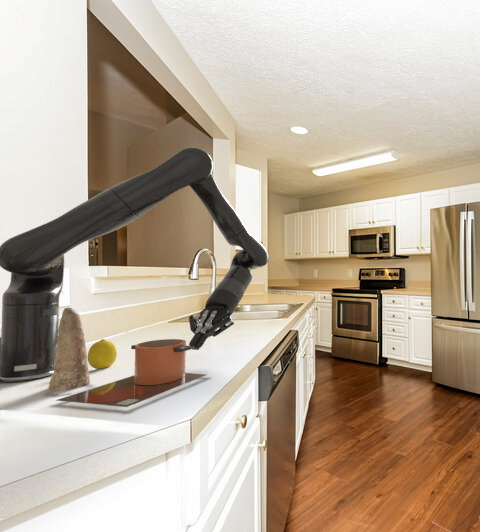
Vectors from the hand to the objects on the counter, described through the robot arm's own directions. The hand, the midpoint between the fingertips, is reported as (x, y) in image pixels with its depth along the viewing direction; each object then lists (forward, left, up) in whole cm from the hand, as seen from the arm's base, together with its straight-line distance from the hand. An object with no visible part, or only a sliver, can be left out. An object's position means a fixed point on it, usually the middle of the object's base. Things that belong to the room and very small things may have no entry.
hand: (193, 348), depth 86 cm
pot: (0, -10, -5) cm, 11 cm away
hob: (0, -15, -6) cm, 16 cm away
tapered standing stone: (-14, -17, -6) cm, 23 cm away
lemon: (-22, -5, -6) cm, 23 cm away
